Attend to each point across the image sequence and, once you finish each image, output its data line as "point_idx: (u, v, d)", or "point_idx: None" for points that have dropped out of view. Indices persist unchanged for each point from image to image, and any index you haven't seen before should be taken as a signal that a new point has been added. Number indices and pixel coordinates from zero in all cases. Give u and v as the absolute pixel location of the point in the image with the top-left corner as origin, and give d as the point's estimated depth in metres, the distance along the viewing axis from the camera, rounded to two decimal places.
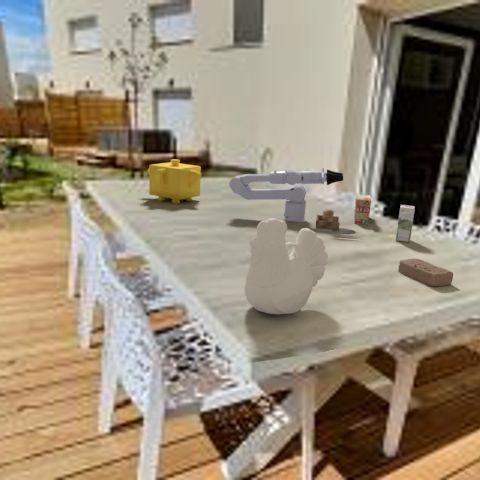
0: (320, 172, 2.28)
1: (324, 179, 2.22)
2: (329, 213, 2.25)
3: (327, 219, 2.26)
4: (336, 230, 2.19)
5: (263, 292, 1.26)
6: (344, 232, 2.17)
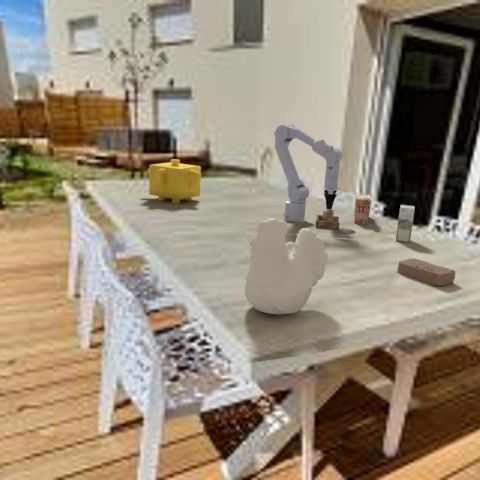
0: (336, 186, 2.22)
1: (330, 192, 2.17)
2: (329, 213, 2.25)
3: (327, 219, 2.26)
4: (336, 230, 2.19)
5: (263, 292, 1.26)
6: (344, 232, 2.17)
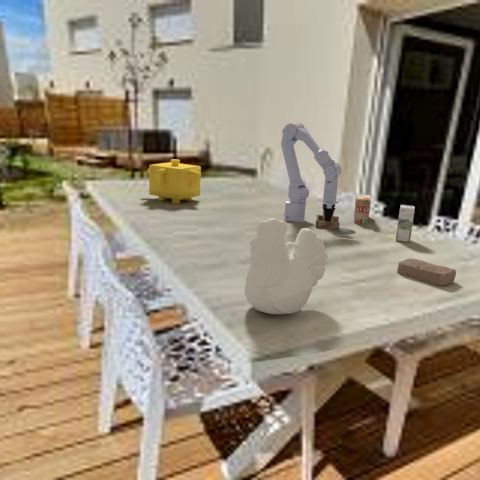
0: (335, 200, 2.24)
1: (329, 206, 2.19)
2: None
3: None
4: (336, 230, 2.19)
5: (263, 292, 1.26)
6: (344, 232, 2.17)
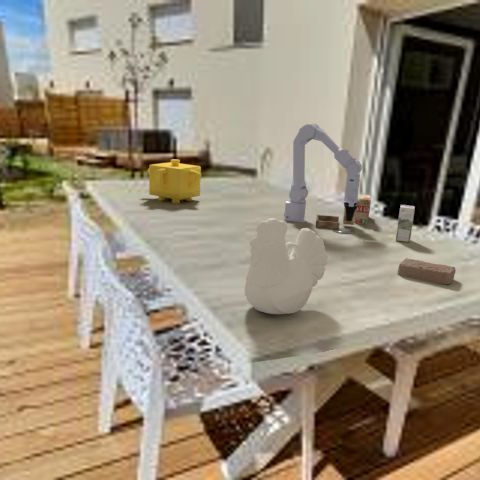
0: (356, 198, 2.22)
1: (351, 204, 2.17)
2: None
3: None
4: (336, 230, 2.19)
5: (263, 292, 1.26)
6: (344, 232, 2.17)
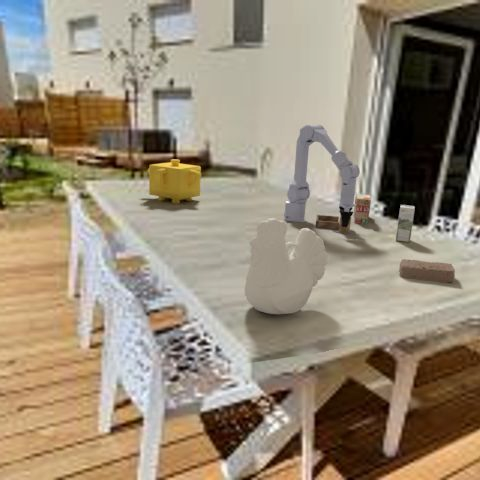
0: (352, 203, 2.14)
1: (346, 209, 2.09)
2: None
3: None
4: (336, 230, 2.19)
5: (263, 292, 1.26)
6: (344, 232, 2.17)
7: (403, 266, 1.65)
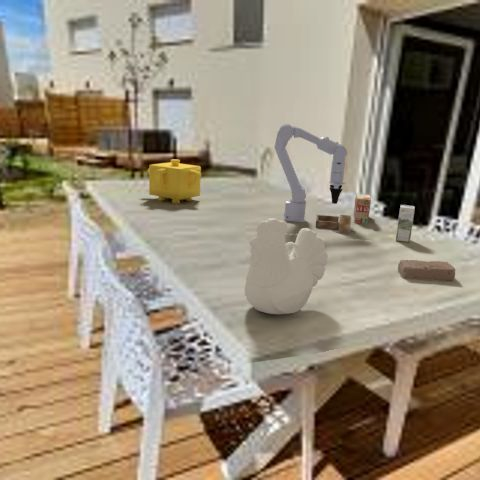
0: (341, 181, 2.28)
1: (336, 186, 2.24)
2: (346, 219, 2.15)
3: (344, 225, 2.16)
4: (336, 230, 2.19)
5: (263, 292, 1.26)
6: (344, 232, 2.17)
7: (405, 267, 1.64)
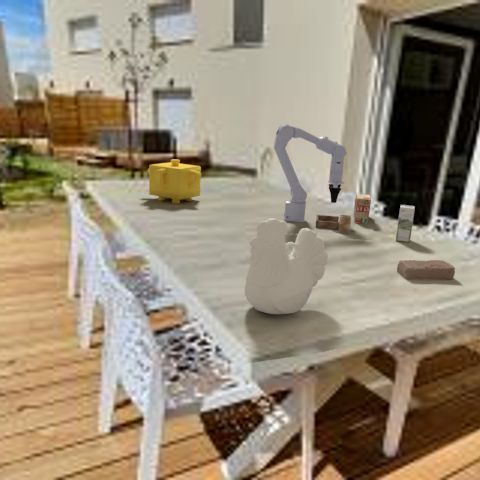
0: (340, 180, 2.30)
1: (335, 186, 2.25)
2: (346, 219, 2.15)
3: (344, 225, 2.16)
4: (336, 230, 2.19)
5: (263, 292, 1.26)
6: (344, 232, 2.17)
7: (408, 268, 1.63)
